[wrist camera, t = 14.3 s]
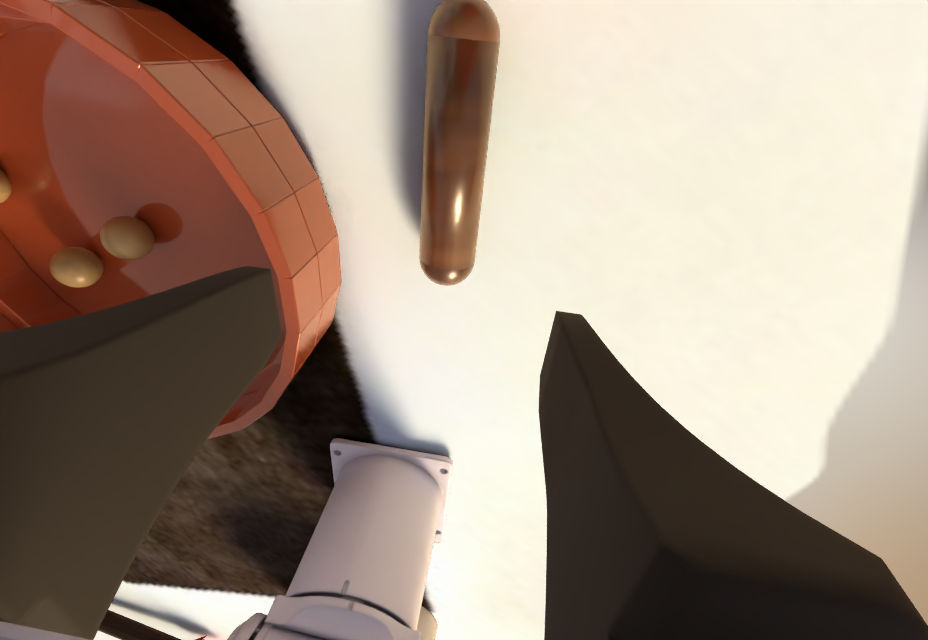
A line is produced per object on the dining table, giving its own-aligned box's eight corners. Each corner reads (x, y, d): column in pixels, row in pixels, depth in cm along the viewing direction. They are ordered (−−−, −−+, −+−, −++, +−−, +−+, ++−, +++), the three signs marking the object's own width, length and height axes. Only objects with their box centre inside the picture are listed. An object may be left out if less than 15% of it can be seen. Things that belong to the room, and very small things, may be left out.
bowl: (353, 399, 26) (319, 468, 22) (57, 351, 27) (-30, 407, 23) (327, 7, 15) (250, -6, 11) (-157, -45, 16) (-392, -76, 12)
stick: (478, 276, 20) (461, 300, 18) (430, 265, 20) (409, 287, 19) (512, 0, 14) (493, -8, 12) (445, -6, 15) (417, -15, 13)
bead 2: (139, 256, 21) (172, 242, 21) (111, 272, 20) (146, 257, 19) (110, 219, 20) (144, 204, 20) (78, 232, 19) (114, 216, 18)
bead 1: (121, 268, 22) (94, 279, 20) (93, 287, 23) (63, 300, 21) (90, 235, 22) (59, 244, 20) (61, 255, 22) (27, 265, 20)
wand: (-60, 575, 43) (218, 687, 46) (-16, 538, 47) (241, 644, 50) (-52, 591, 45) (213, 696, 49) (-11, 554, 49) (235, 655, 52)
